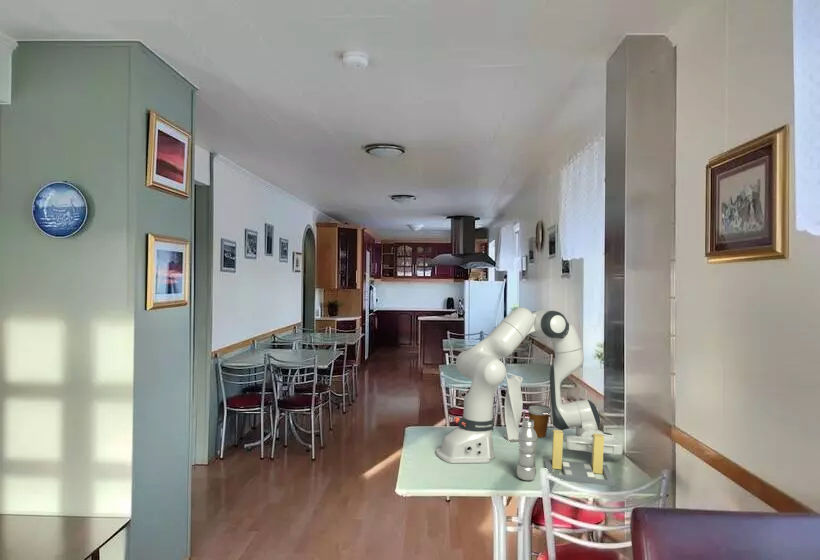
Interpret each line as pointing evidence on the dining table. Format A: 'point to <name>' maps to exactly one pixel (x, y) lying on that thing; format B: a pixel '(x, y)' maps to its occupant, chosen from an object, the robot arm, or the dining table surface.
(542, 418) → the disposable coffee cup
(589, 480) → the switch bank
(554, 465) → the yellow rectangular block
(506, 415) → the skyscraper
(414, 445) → the dining table surface
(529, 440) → the plastic bottle
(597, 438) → the yellow bar
